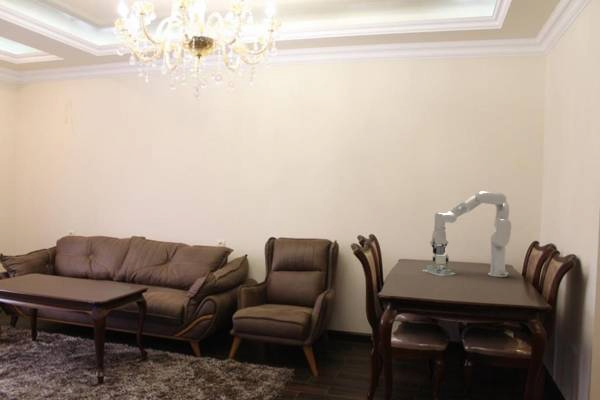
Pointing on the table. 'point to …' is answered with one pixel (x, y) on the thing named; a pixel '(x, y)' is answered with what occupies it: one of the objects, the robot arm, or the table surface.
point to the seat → (438, 271)
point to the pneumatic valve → (441, 260)
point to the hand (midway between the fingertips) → (438, 252)
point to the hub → (439, 250)
